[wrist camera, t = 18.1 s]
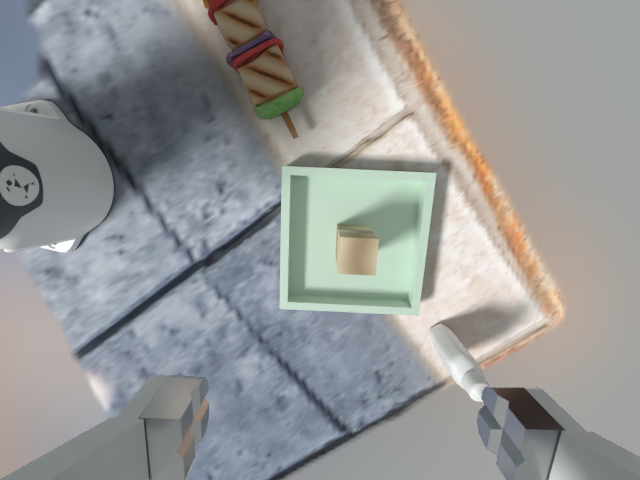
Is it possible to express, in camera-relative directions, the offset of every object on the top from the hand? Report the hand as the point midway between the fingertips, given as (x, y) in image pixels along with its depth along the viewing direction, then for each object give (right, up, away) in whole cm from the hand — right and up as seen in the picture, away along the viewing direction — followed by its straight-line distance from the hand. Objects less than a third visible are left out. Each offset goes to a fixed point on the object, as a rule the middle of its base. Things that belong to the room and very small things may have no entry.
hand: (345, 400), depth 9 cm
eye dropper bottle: (+17, -9, +34) cm, 39 cm away
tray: (+3, +5, +31) cm, 32 cm away
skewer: (-8, +26, +27) cm, 38 cm away
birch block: (+3, +5, +30) cm, 31 cm away
